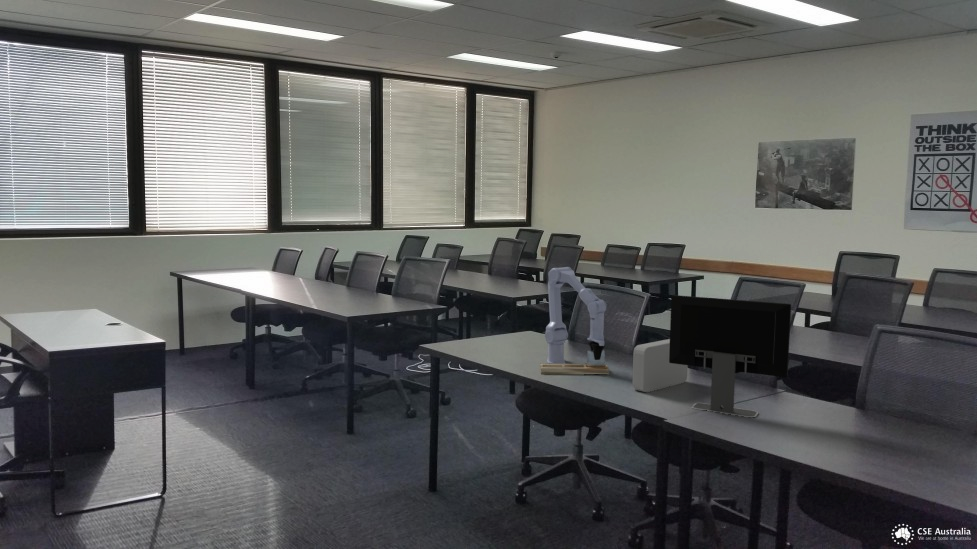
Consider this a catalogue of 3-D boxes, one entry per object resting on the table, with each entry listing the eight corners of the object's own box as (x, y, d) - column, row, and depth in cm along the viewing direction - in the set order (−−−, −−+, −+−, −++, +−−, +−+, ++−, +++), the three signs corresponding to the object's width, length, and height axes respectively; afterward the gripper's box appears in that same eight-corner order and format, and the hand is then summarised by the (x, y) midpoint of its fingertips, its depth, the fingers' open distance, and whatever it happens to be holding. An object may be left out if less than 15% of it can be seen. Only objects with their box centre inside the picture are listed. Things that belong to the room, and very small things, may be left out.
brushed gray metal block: (587, 365, 318) (587, 350, 317) (602, 364, 319) (602, 350, 319) (589, 366, 316) (589, 352, 315) (604, 365, 317) (604, 351, 316)
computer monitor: (786, 416, 256) (792, 303, 251) (782, 422, 248) (788, 306, 244) (670, 399, 276) (674, 294, 272) (664, 404, 269) (667, 296, 265)
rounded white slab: (671, 378, 308) (673, 336, 306) (687, 382, 302) (688, 339, 300) (627, 389, 290) (628, 344, 288) (642, 393, 284) (644, 348, 282)
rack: (540, 368, 323) (540, 362, 323) (606, 369, 322) (606, 363, 322) (540, 373, 314) (541, 367, 314) (609, 374, 313) (609, 368, 313)
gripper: (582, 325, 322) (582, 355, 324) (593, 331, 308) (592, 363, 309) (598, 325, 323) (597, 355, 325) (609, 330, 309) (608, 362, 311)
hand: (596, 359), depth 317 cm, fingers closed on brushed gray metal block, 2 cm apart
